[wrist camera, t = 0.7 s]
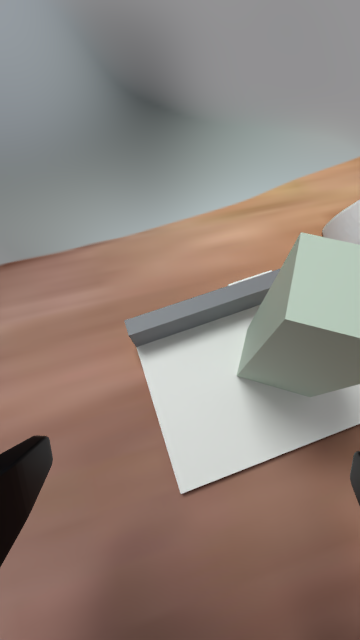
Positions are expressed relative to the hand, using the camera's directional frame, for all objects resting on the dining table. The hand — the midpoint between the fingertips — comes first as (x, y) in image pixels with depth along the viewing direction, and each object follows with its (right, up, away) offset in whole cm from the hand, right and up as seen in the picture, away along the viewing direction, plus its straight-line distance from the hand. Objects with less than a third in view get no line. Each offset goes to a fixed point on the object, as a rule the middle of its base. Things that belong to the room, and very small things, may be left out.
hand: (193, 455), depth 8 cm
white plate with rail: (+5, 0, +14) cm, 15 cm away
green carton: (+7, +1, +13) cm, 15 cm away
